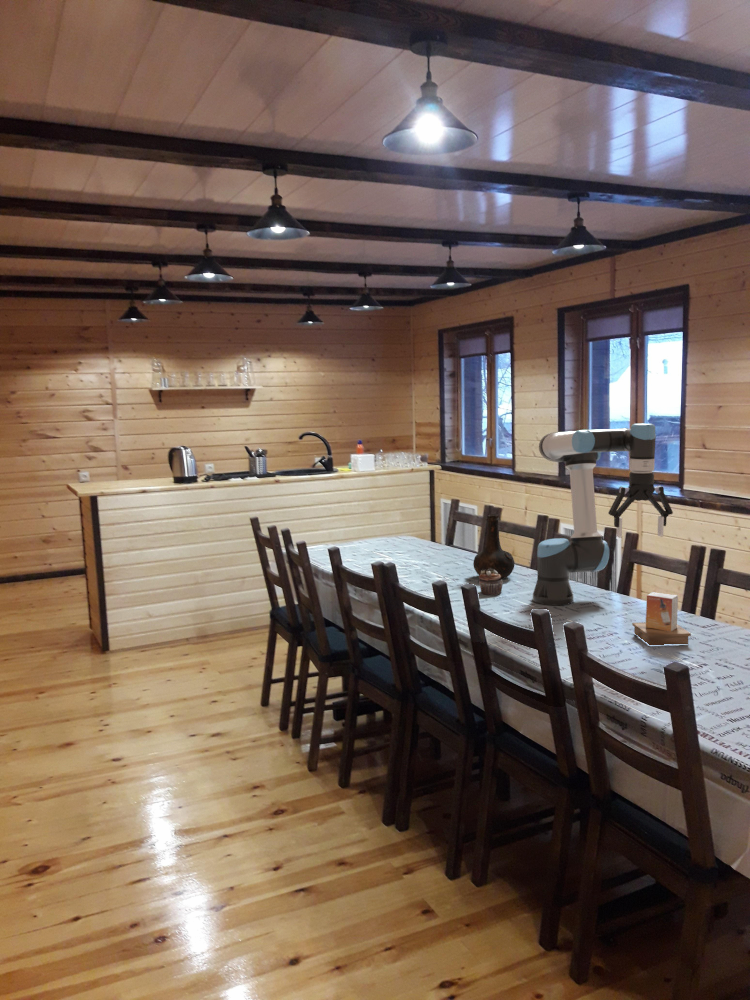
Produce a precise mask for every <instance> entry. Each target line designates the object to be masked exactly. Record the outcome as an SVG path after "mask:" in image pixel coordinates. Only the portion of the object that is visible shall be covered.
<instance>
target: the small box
mask: <svg viewBox="0 0 750 1000" xmlns="http://www.w3.org/2000/svg"><path fill="white" fill-rule="evenodd" d="M678 605H679V596H678V594H668V593H662V592H655V591H652V592H650V593H649V594H647V595H646V605H645V606H646V609H645V622H646V627H647V628H654V629H659V630H664V631H669V632H671V631H673V630H674V629H676V628H677V625H678V609H679V607H678Z"/></svg>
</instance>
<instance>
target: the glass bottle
mask: <svg viewBox="0 0 750 1000" xmlns="http://www.w3.org/2000/svg"><path fill="white" fill-rule="evenodd" d="M485 521H487V532H486V533H487V534H486V540H485V541H486V542H485V545H484V549H482V550H481V551H479V552H478V553H477V554H476V555H475V556H474V559H473V565H472V566H473V569H474V570H475V572H476V574H477V575H478V576H479V575H480V574H481V570H482V569H489V568H492V570H493V569H495V571H497V572H498V574H500V575H501V578H500V579H501V580H504V579H506V578H509V576H510V575H512V573H513V571H514V568H515V565H516V564H515V558H514V557H513V555H512V554H511V553H510V552H509V551H506V550H503V548H502V547H501V541H500V532H499V531H500V530H499V521H501V519H500V518H499V514H495V513H494V514H493V513H492V514H487V518H485Z"/></svg>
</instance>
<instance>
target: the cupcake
mask: <svg viewBox="0 0 750 1000" xmlns="http://www.w3.org/2000/svg"><path fill="white" fill-rule="evenodd" d="M478 578H479V579H478V583H479V588H480V593H481V594H482V595H484V596H498V594H499V595H501V594H502V589H503V585H504V580H503V579H500V578H501V575H500V574H498V572H497V571H495V569H493V570H492V568H489V569H482V570H481V574H480V575H478Z"/></svg>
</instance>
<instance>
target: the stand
mask: <svg viewBox="0 0 750 1000" xmlns="http://www.w3.org/2000/svg"><path fill="white" fill-rule="evenodd" d="M631 625H632V626H633V627H634V630H633V631H634V633H635V634H636V635H638V636H639V637H640V638H641V639H643V640H644V641H645V642H647V643H648V644H649V645H664V644H688V645H689V637H692V633H691V632H689V631H688V630H686V629H685V628H683V627H682V626H680V625H679V624H677V628H676V629H674V630H673V631H671V632H669V631H664V630H659V629H654V628H647V627H646V621H645V622H644V621H642V622H632V624H631Z"/></svg>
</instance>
